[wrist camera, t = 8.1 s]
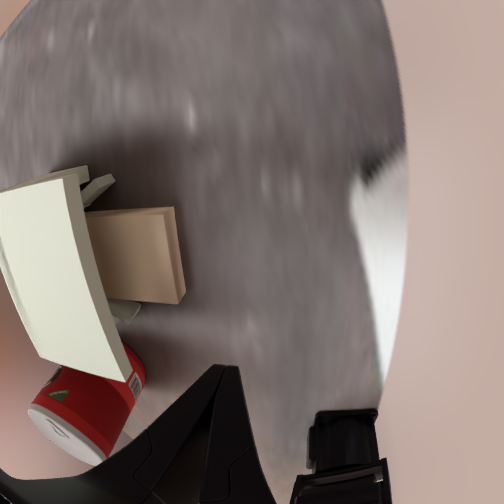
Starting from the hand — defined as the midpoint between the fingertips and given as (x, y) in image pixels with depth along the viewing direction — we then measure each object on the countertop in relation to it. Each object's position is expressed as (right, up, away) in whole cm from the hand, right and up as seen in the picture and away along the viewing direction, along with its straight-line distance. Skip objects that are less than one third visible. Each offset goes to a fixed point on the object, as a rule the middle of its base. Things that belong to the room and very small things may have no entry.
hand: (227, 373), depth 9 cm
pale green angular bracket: (-12, +4, +12) cm, 17 cm away
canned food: (-13, -7, +17) cm, 23 cm away
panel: (-9, +4, +12) cm, 16 cm away
